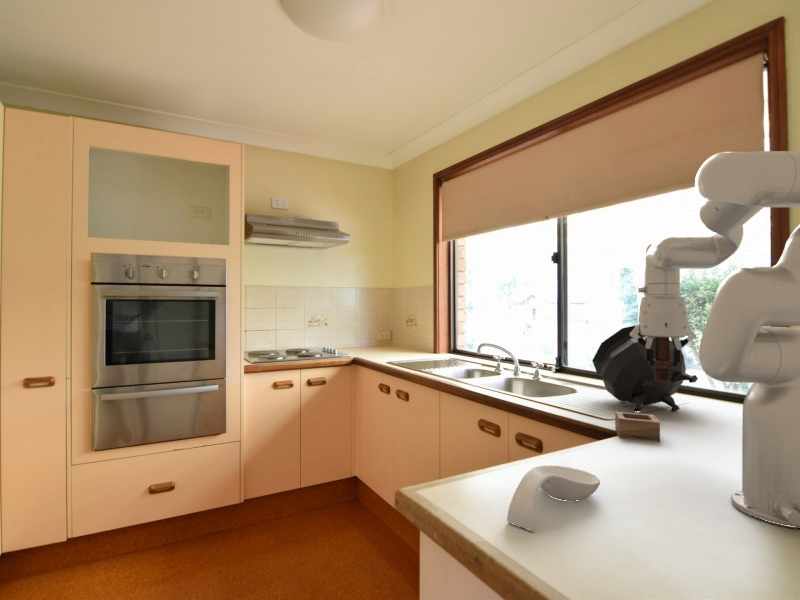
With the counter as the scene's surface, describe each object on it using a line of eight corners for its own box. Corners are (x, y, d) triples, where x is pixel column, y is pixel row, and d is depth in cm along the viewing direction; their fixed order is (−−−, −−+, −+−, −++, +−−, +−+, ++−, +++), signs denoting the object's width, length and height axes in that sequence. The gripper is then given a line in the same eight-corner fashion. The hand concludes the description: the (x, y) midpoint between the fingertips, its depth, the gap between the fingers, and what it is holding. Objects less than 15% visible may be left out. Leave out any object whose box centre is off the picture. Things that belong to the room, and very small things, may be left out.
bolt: (678, 384, 108) (678, 321, 108) (655, 383, 109) (655, 321, 109) (668, 380, 113) (668, 321, 114) (647, 379, 114) (647, 321, 115)
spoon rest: (547, 477, 92) (547, 442, 92) (608, 494, 84) (608, 455, 84) (488, 518, 74) (488, 475, 74) (558, 545, 66) (559, 496, 66)
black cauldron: (612, 402, 139) (574, 348, 158) (640, 436, 155) (603, 383, 174) (697, 353, 132) (647, 303, 151) (718, 395, 147) (670, 344, 166)
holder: (659, 441, 116) (660, 422, 116) (619, 437, 119) (619, 418, 119) (653, 432, 124) (653, 414, 124) (615, 429, 127) (615, 411, 127)
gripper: (626, 291, 111) (626, 365, 110) (706, 290, 105) (706, 368, 105) (622, 292, 118) (622, 361, 117) (697, 292, 112) (697, 365, 112)
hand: (662, 364), depth 111 cm, fingers closed on bolt, 4 cm apart
